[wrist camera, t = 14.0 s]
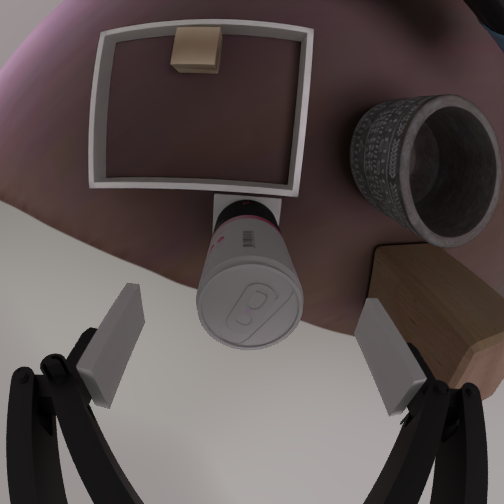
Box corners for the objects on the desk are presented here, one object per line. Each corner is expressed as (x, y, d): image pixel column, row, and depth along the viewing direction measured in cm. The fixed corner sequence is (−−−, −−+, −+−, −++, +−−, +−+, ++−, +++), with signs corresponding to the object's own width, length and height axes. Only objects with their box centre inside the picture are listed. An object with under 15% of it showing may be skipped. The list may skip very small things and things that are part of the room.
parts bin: (112, 39, 21) (100, 31, 18) (307, 38, 22) (313, 29, 19) (101, 182, 27) (89, 188, 25) (292, 191, 29) (297, 197, 26)
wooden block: (362, 311, 36) (426, 430, 17) (372, 243, 32) (475, 353, 13) (419, 302, 36) (493, 397, 17) (434, 240, 32) (536, 324, 13)
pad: (214, 193, 29) (214, 194, 28) (281, 198, 29) (281, 199, 29) (212, 254, 31) (211, 256, 31) (273, 258, 32) (274, 260, 31)
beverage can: (288, 217, 30) (327, 292, 16) (257, 266, 32) (268, 363, 18) (234, 187, 28) (226, 240, 14) (205, 239, 30) (178, 327, 16)
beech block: (185, 40, 22) (176, 27, 18) (223, 40, 22) (220, 27, 18) (179, 73, 23) (170, 64, 20) (218, 74, 24) (214, 64, 20)
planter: (407, 219, 30) (473, 264, 19) (322, 186, 29) (373, 222, 17) (437, 131, 26) (513, 142, 14) (355, 84, 24) (422, 62, 12)
